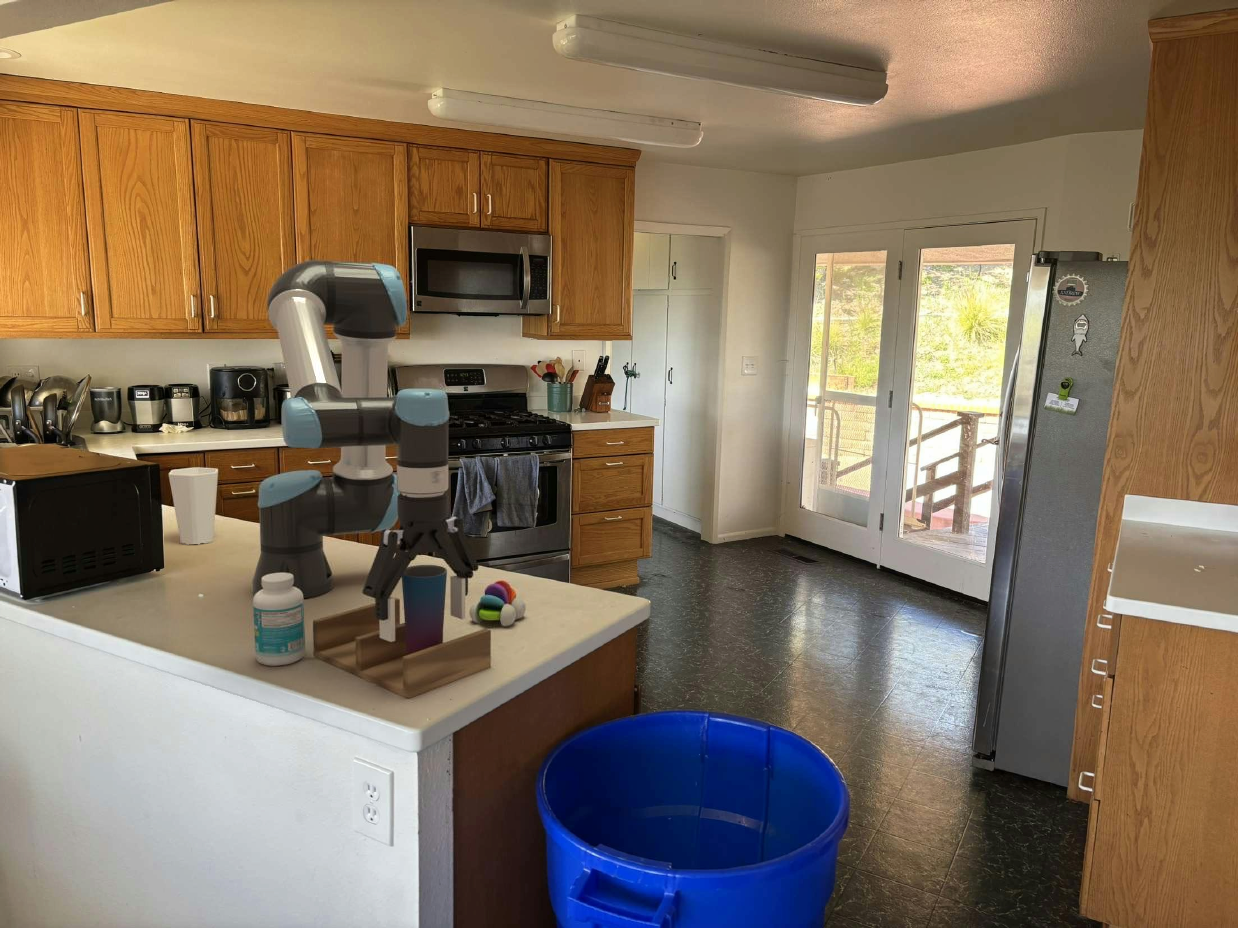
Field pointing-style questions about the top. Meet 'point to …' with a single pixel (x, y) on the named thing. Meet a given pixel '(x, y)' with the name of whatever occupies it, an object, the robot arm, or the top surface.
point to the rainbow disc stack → (498, 605)
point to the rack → (396, 652)
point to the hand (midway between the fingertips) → (424, 627)
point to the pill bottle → (279, 621)
